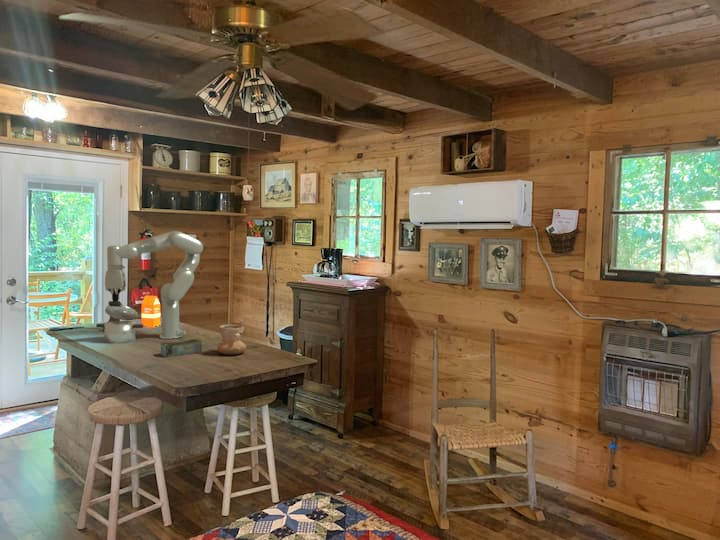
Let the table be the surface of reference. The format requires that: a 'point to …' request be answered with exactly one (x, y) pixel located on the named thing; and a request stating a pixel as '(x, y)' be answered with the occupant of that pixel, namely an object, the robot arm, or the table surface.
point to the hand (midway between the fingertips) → (115, 301)
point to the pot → (120, 331)
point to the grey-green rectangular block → (181, 348)
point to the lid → (120, 311)
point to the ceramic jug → (231, 340)
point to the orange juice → (151, 311)
